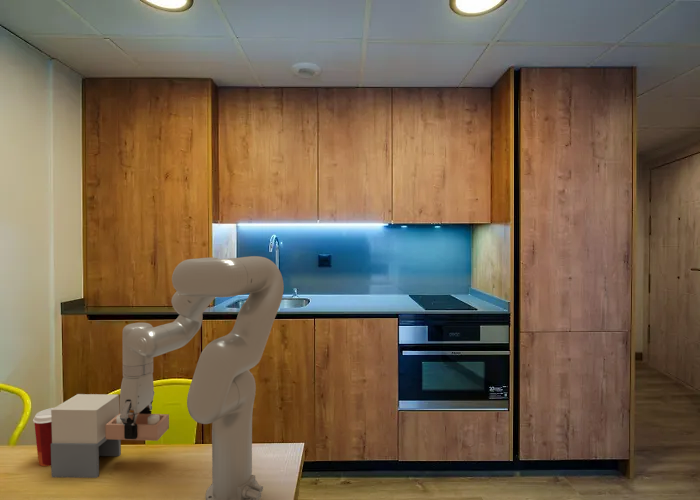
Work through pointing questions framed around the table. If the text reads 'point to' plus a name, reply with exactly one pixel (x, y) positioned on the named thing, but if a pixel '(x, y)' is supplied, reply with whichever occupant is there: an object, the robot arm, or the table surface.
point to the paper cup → (43, 436)
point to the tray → (139, 427)
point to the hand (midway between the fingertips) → (138, 430)
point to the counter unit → (82, 435)
